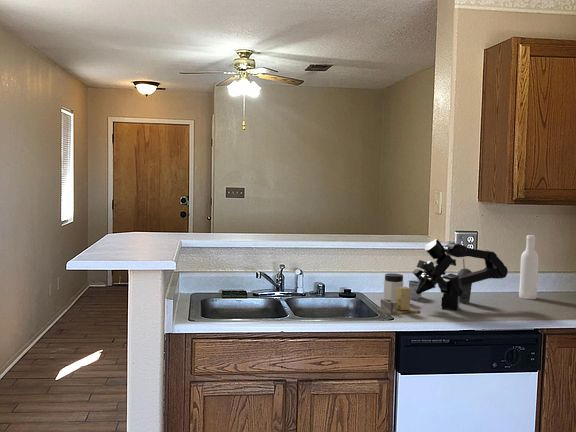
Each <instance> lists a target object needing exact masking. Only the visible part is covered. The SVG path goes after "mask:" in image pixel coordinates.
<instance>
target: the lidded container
mask: <svg viewBox="0 0 576 432" xmlns="http://www.w3.org/2000/svg"><path fill="white" fill-rule="evenodd" d="M383 282H384V283H383V300H384V299H390V300H391V302H395V300H396V287H404V275H403V274H401V273H391V272H390V273H385V274H384V281H383Z"/></svg>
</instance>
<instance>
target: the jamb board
mask: <svg viewBox="0 0 576 432" xmlns="http://www.w3.org/2000/svg"><path fill="white" fill-rule="evenodd" d="M397 304H398V303H397V302H391V300H390V299H384V298H381V299H380V306H379V307H380V309H379V311H380V312H383V313H385V314H387V315H389V316H390V315H406V314H420V313H421V310H419V309H417V308H415V307H412V306H410V310H399V309H398V310H397Z"/></svg>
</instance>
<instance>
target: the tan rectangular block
mask: <svg viewBox="0 0 576 432" xmlns="http://www.w3.org/2000/svg"><path fill="white" fill-rule="evenodd" d="M410 291H411V288H409V286H404V285H403V287H396V300H395V302H397V303H398V304H397V310H398V309H399V310H410V307H411V299H410Z"/></svg>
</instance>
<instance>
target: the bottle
mask: <svg viewBox="0 0 576 432" xmlns="http://www.w3.org/2000/svg"><path fill="white" fill-rule="evenodd" d="M525 240H526V244H525V245H526V246H525V250H524V251H523V252H522V254H521V255H520V272H519V291H518V297H519V299H525V300H536V299H537V295H538V278H539V276H538V275H539V262H540V261H539V257H540V256H539V255H538V253H537V251H536V250H535V246H536V245H535V243H536V235H533V234H528V235H526V237H525Z"/></svg>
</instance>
